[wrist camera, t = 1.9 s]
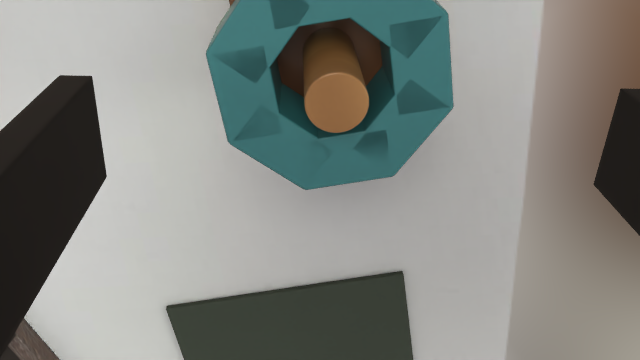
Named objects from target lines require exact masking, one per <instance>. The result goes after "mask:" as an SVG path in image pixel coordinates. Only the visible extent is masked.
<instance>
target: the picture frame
mask: <svg viewBox="0 0 640 360" xmlns="http://www.w3.org/2000/svg"><path fill="white" fill-rule="evenodd" d="M0 360H59V359H58V357H57V356H56V355H55V354H54V353H53V352H52V351H51V349H50V348H49V347H48V346H47V345H46V344H45V343H44V341H43V340H42V339H41V338H40V337H39V336H38V335H37V333H36V332H35V331H34V330H33V329H32V328H31V327H30V325H29V324H28V323H27V322H26V321H25V320H24V318H23V320H22V322H21V323H20V325H19V327H18V328H17V330H16V332H15V334H14V335H13V337H12V339H11V340H10V342H9V344H8V346H7V347H6V349H5V351H4V352H3V354H2V356H1V357H0Z"/></svg>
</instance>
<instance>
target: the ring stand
mask: <svg viewBox="0 0 640 360" xmlns="http://www.w3.org/2000/svg"><path fill="white" fill-rule="evenodd" d="M234 1H235V0H229V3H230V7H231V5H232V4H233V2H234ZM277 62H278V67H279V72H280V77H281V82H282V83H283V84H285V85H286V86H288V87H289V88H291V89H292V90H294V91H295V92H297V93H298V94H300V95H301V96H303V97H304V105H305V111H306V114H307V116H308V118H309V119H310V121H311V122H312V123H313V124H314V125H315V126H316V127H318V128H320V129H321V130H324V131H327V132H332V133H340V132H345V131H348V130H351V129H353V128H354V127H356V126H357V125H358V124H359V123H360V122H361V121H362V120H363V119H364V117H365V115H366V114H367V111H368V107H369V96H368V92H367V89H366V86H367V85H368V83H369V82H370V81H371V80H372V78H373V77H374V76H375V75H376V73H377V72H378V71H379V70H380V68H381V67H382V57H381V48H380V40H379V39H377V38H376V37H375V36H373V35H372V34H370V33H369V32H368V31H366V30H365V29H364V28H362V27H361V26H360V25H358V24H357V23H356V22H354V21H353V20H352V19H350V18H348V19H342V20H336V21H330V22H324V23H318V24H312V25H306V26H300V27H298V28H297V30H296V31H295V33H294V34H293V36H292V37H291V38H290V40H289V41H288V43H287V44H286V45H285V47H284V48H283V50H282V51H281V52H280V54H279V55H278V57H277Z"/></svg>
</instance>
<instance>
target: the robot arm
mask: <svg viewBox="0 0 640 360" xmlns="http://www.w3.org/2000/svg"><path fill="white" fill-rule="evenodd" d="M106 177H107V176H106V169H105V162H104V155H103V148H102V141H101V135H100V128H99V121H98V114H97V107H96V100H95V93H94V86H93V80H92V76H65V75H60V76H59V77H57V78H56V79H55V80H54V81H53V82H52V83H51V84H50V85H49V86H48V87H47V88H46V89H45V90H44V91H43V92H41V93H40V94H39V95H38V96H37V97H36V98H35V99H34V100H33V101H32V102H31V103H30V104H29V105H28V106H27V107H25V108H24V109H23V110H22V111H21V112H20V113H19V114H18V115H17V116H16V117H15V118H14V119H13V120H12V121H10V122H9V123H8V124H7V125H6V126H5V127H4V128H3V129H2V130H1V131H0V357H1V356H2V354H3V352H4V351H5V349H6V347H7V346H8V344H9V342H10V340H11V339H12V337H13V335H14V334H15V332H16V330H17V328H18V327H19V325H20V323H21V322H22V320H23V318H24V317H25V315H26V313H27V311H28V310H29V308H30V306H31V305H32V303H33V301H34V300H35V298H36V296H37V294H38V293H39V291H40V289H41V288H42V286H43V284H44V283H45V281H46V279H47V277H48V276H49V274H50V272H51V271H52V269H53V267H54V266H55V264H56V262H57V260H58V259H59V257H60V255H61V254H62V252H63V250H64V249H65V247H66V245H67V243H68V242H69V240H70V238H71V237H72V235H73V233H74V231H75V230H76V228H77V226H78V225H79V223H80V221H81V220H82V218H83V216H84V214H85V213H86V211H87V209H88V208H89V206H90V204H91V203H92V201H93V199H94V197H95V196H96V194H97V192H98V191H99V189H100V187H101V186H102V184H103V182H104V180H105V179H106ZM594 186H595V187H596V188H597V189H598V190H599V191H600V192H601V193H602V194H603V195H604V197H605V198H606V199H607V200H608V201H609V202H610V203H611V204H612V206H613V207H614V208H615V209H616V210H617V211H618V212H619V213H620V214H621V216H622V217H623V218H624V219H625V220H626V221H627V222H628V223H629V224H630V226H631V227H632V228H633V229H634V230H635V231H636V232H637V233H638V234H639V235H640V89H620V93H619V96H618V100H617V104H616V107H615V110H614V114H613V117H612V121H611V124H610V128H609V132H608V135H607V139H606V142H605V146H604V149H603V153H602V156H601V160H600V163H599V167H598V170H597V174H596V178H595V181H594Z"/></svg>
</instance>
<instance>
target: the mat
mask: <svg viewBox="0 0 640 360" xmlns="http://www.w3.org/2000/svg"><path fill="white" fill-rule="evenodd" d="M166 310H167V313H168V316H169V318H170V321H171V324H172V327H173V330H174V332H175V335H176V338H177V341H178V344H179V346H180V349H181V352H182V355H183V358H184V360H413V355H412V346H411V337H410V328H409V320H408V311H407V302H406V293H405V285H404V276H403V272H402V271H400V272H393V273H387V274H380V275H373V276H366V277H360V278H353V279H346V280H339V281H333V282H326V283H319V284H312V285H306V286H299V287H292V288H285V289H279V290H272V291H265V292H258V293H252V294H245V295H238V296H231V297H225V298H218V299H211V300H205V301H198V302H191V303H184V304H178V305H171V306H167V308H166Z"/></svg>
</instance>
